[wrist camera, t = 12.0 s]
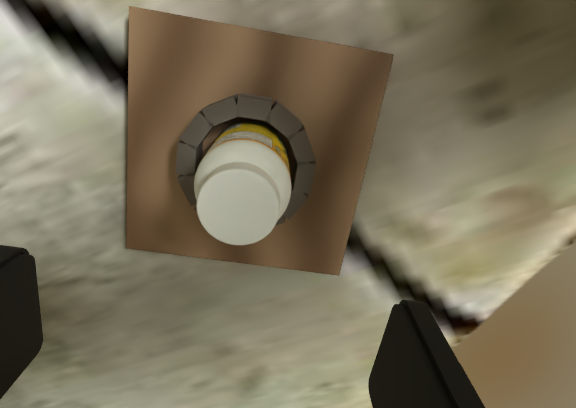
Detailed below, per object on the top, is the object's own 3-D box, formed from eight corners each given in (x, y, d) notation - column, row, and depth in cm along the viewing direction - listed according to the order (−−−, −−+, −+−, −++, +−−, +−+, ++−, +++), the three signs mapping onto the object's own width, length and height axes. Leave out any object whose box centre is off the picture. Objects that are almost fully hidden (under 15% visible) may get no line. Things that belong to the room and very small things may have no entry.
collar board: (387, 54, 26) (406, 54, 22) (336, 266, 32) (344, 293, 28) (137, 9, 24) (112, -1, 21) (133, 239, 30) (113, 264, 27)
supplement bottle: (218, 112, 25) (188, 141, 16) (295, 128, 26) (305, 165, 17) (208, 186, 27) (175, 247, 18) (279, 199, 28) (281, 265, 19)
